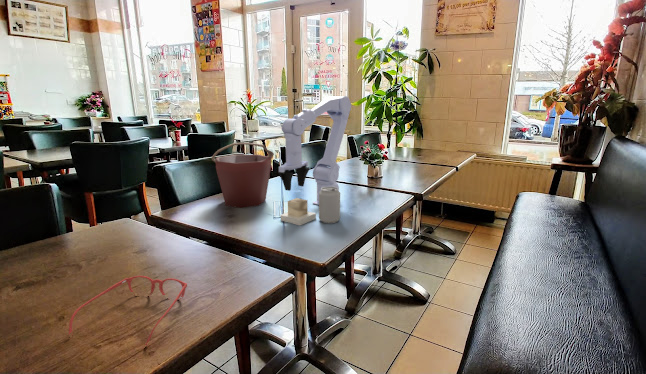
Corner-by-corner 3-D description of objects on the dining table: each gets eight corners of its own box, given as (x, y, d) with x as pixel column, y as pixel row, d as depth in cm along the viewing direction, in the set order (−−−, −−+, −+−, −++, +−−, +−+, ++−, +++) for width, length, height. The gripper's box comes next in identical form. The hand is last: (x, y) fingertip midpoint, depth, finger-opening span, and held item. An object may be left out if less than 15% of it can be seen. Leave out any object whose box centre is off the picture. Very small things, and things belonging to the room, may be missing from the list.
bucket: (277, 195, 157) (275, 139, 151) (271, 210, 136) (269, 146, 130) (222, 195, 156) (218, 139, 150) (208, 210, 135) (203, 146, 129)
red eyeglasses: (197, 300, 75) (195, 279, 74) (150, 352, 60) (147, 326, 59) (125, 293, 78) (122, 273, 77) (62, 341, 62) (57, 316, 61)
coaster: (297, 213, 131) (297, 208, 131) (315, 218, 126) (315, 213, 126) (280, 220, 124) (280, 214, 124) (299, 225, 119) (299, 220, 119)
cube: (296, 211, 128) (296, 198, 127) (307, 213, 125) (307, 200, 124) (287, 214, 124) (287, 201, 123) (298, 217, 122) (298, 203, 120)
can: (338, 225, 120) (338, 191, 117) (316, 223, 121) (316, 190, 118) (341, 218, 127) (341, 186, 124) (321, 216, 128) (321, 185, 125)
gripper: (297, 148, 135) (298, 182, 138) (271, 153, 123) (273, 190, 127) (312, 150, 131) (312, 185, 134) (286, 155, 119) (287, 193, 123)
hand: (294, 188), depth 130 cm, fingers open, 7 cm apart
